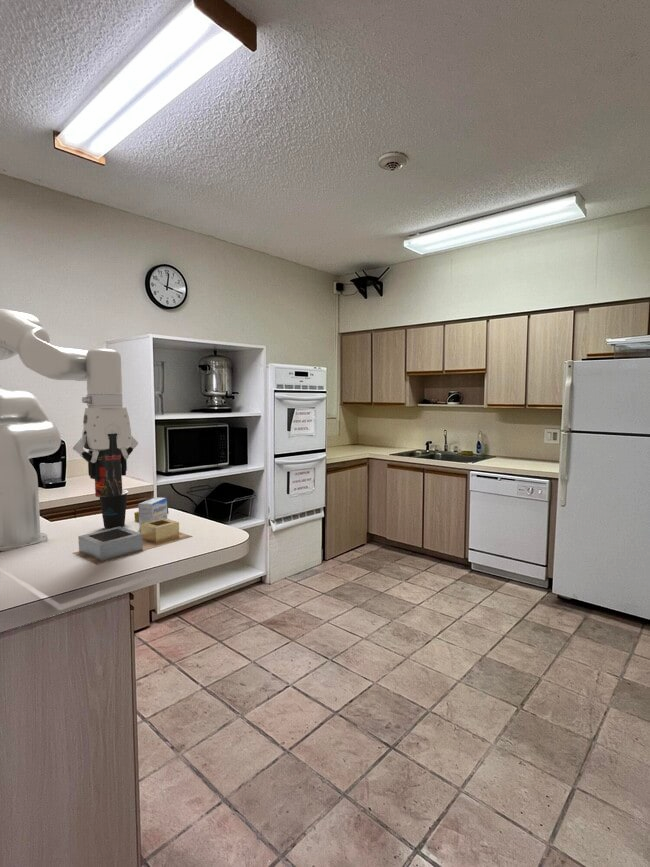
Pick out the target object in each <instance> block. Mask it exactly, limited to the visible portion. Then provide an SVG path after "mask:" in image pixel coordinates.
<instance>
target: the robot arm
mask: <svg viewBox="0 0 650 867" xmlns="http://www.w3.org/2000/svg"><path fill="white" fill-rule="evenodd" d="M17 355H18V357H19V359H20V361H21V362H22V364H23V365H24V366H25V367H26V368H28V369H29V370H31V371H33V372H35V373H37V374H38V375H40V376H42V377H44V378H47V379H51V380H55V381H75V382H77V381H78V382H80V381H81V382H86V396H83V397H82V398H81V403H83V404H86V406H87V407H86V408H84V412H83V418H82V419H83V420H82V432H81V434H82V435H81V438H80V439H79V440H78V442H77V443H75V445H73V447H72V450H73V451H74V452H75V453H76V454H78V455H79V456H80V457H82V459H84V460H85V461H86V462H87V468H88V470H87V471H88V476H89V478H90V479H91V480H94V481H95V480H97V479H99V463H98V462H96V460H97V457H98V454H99V451H102V450H107V449H109V439H108V438H109V437H108V434H115V433H116V434H117V436H116V438H117V437H118V438H117V448H119V449H121V468H122V477H123V476H127V471H128V466H127V464H128V463H127V462H128V461H127V460H128V459H129V456H130V455H131V454H132V452H133V451H134V449H135V448H136V447H137V446H138V445H139V442H138V441H137V440H136V438H134V437H133V436H132V429H131V423H130V417H129V412H128V410H127V407H125V406H123V403H124V402H123V379H122V360H121V359H122V357H121V353H120V352H119V351H117V350H116V349H115V350H114V349H110V348H92V349H89V350H87V349H86V350H85V349H80V348H79V349H77V348H72V347H61V346H60V347H59V346H55V345H52V344H50V335H49V333H48V332H47V330H46V329H45V328H44V327H43V324H42V323H41V321H40V319H38V318H37V317H36V316H35V315H33V314H30V313H27V312H23V311H16V310H12V309H6V308H0V361H4V360H9V359H10V358H13V357H15V356H17ZM61 438H62V437H61V434H60V431H59V429H58V426H56V424H55V422H54V421H53V419H52V417H51V416H50V414H49V413H48V411H47V409H46V408H45V406H44V405H43V403H42V402H41V401H40V399H39V398H38V397H37V396H36V395H35V394H33V393H32V392H29V391H28V390H22V389H6V388H4V387H2V386H1V385H0V552H8V551H9V552H10V551H12V550H13V551H14V550H17V549H20V548H25V547H30V546H34V545H37V544H38V545H39V544H42V543H46V542H47V541H48V539H49V538H48V534H46V533H44V532H41V519H40V518H41V517H40V516H41V515H40V499H39V498H40V495H39V494H40V493H39V479H38V473H37V471H36V469H35V468H34V465H32V463H31V462H30V459H33V458H40V457H46V456H50V455H53V454H55V453H56V452H58V450H59V449H60V447H61V444H62V439H61ZM85 449H86V450H87V451H86V450H85Z"/></svg>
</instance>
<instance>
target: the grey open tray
mask: <svg viewBox="0 0 650 867" xmlns="http://www.w3.org/2000/svg"><path fill="white" fill-rule="evenodd" d="M140 550H143V541H142V534H141V532H138V531H135V530H131V529H129V528H126V527H124V526H123V527H120V526H119V527H115V528H111V529H108V528H106V529H103V530H99V531H96V532H91V533H86V534H83V535H78V551H79V552H80V553H82V554H84V555H86V556H89V557H91V558H93V559H95V560H97V561H100V562H102V561H106V560H109V559H113V558H116V557H120V556H123V555H126V554H130V553H133V552H137V551H140Z"/></svg>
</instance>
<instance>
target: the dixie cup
mask: <svg viewBox="0 0 650 867" xmlns="http://www.w3.org/2000/svg"><path fill="white" fill-rule="evenodd" d="M128 493H129V490H127V489H122V495H119V496H115V497H98V498H99V503H100V509H101V515H102V522H103V527H104V528H105V529H111V528H115V527H119V526H120V527H123V528H124V526H125V525H126V524H125V523H126V512H127V511H126V510H127V500H128Z"/></svg>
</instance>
